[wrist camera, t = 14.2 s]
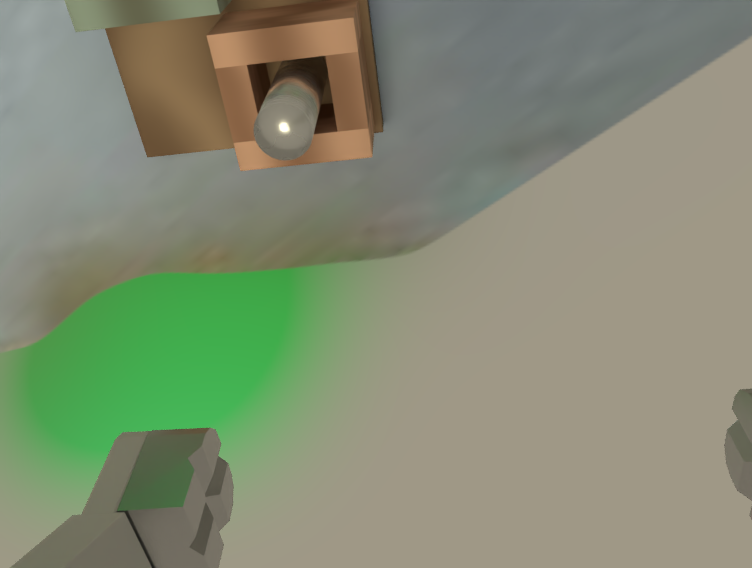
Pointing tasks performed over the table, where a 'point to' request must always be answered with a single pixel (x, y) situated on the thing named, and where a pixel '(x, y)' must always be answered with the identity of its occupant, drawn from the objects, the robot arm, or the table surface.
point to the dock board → (189, 81)
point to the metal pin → (291, 108)
